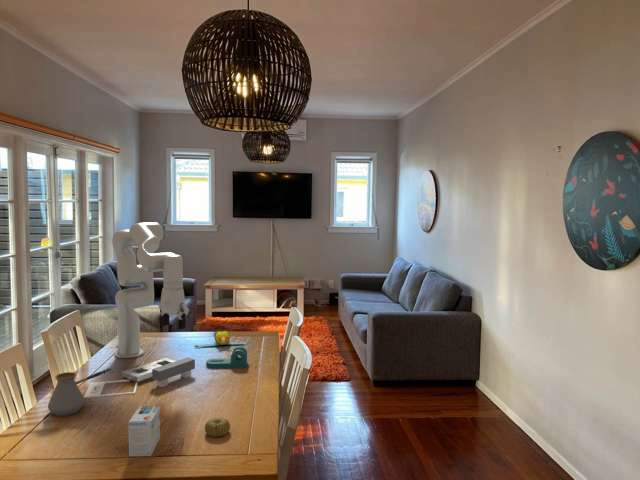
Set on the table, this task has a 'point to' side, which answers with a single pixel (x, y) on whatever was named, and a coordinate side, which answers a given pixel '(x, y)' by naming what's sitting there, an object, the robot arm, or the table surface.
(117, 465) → the table surface
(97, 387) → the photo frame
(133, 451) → the light bulb box
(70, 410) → the coffee pot
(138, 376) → the mounting plate
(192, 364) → the grey bar
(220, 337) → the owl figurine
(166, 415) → the table surface
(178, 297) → the robot arm
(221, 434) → the sculpture
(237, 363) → the bracket
